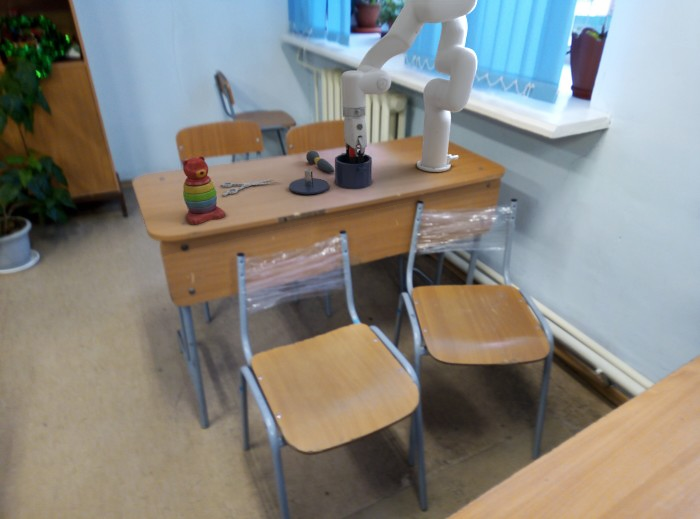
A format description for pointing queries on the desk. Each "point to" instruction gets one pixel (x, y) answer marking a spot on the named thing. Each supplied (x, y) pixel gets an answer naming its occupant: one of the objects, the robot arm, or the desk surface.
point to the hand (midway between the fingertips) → (355, 163)
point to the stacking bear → (199, 192)
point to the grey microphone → (319, 161)
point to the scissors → (243, 185)
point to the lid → (308, 184)
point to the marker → (352, 155)
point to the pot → (352, 172)
